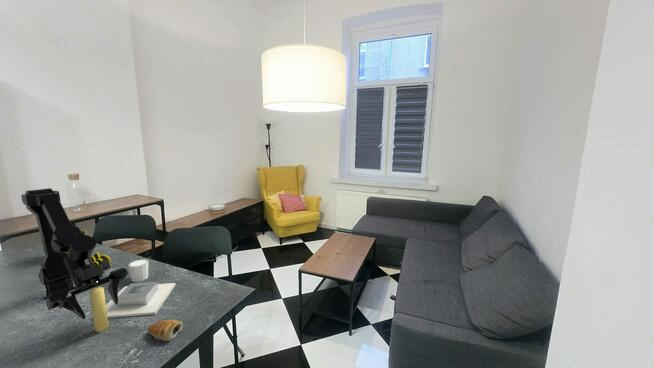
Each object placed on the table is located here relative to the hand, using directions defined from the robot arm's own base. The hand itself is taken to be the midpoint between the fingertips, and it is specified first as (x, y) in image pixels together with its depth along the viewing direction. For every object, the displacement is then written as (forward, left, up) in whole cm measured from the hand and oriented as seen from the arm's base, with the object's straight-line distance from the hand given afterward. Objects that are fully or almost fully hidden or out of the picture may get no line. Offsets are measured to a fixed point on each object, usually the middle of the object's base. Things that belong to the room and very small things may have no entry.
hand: (101, 310), depth 80 cm
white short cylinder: (-4, +31, -7) cm, 32 cm away
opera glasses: (-28, +46, -7) cm, 54 cm away
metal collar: (+3, +15, -7) cm, 17 cm away
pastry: (+19, -4, -7) cm, 20 cm away
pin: (-1, +1, -7) cm, 7 cm away
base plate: (+3, +15, -7) cm, 17 cm away
